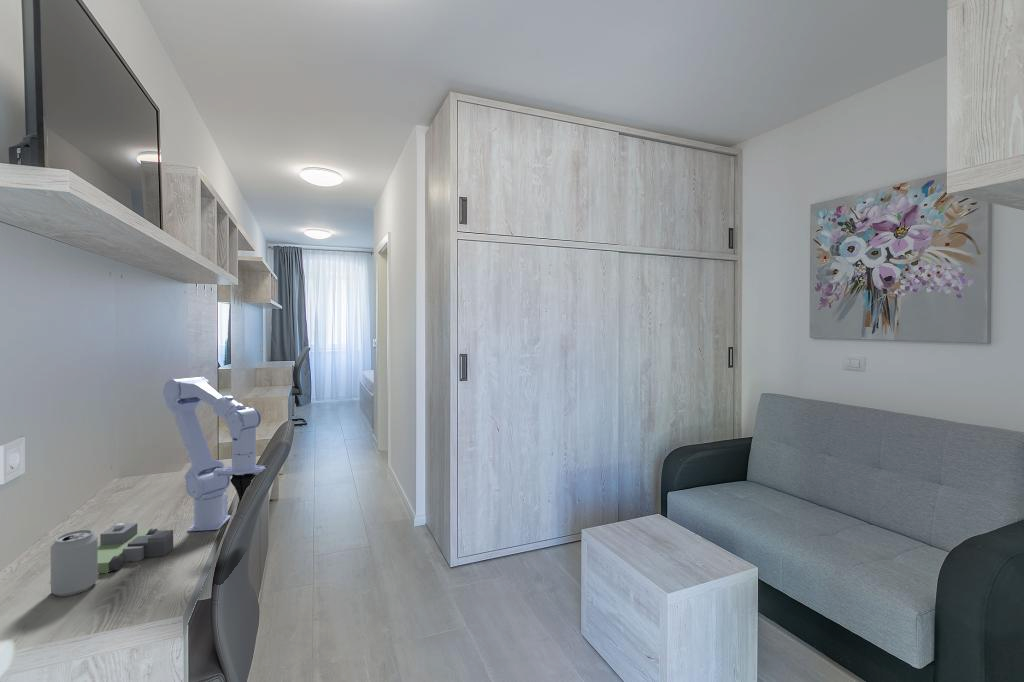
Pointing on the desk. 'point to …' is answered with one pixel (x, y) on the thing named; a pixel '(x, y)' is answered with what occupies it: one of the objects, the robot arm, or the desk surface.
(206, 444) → the robot arm
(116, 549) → the deck
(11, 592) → the desk surface
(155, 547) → the grey rectangular box
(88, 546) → the can
